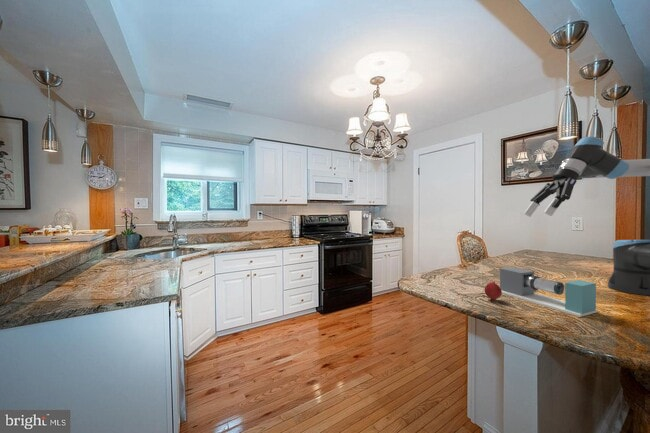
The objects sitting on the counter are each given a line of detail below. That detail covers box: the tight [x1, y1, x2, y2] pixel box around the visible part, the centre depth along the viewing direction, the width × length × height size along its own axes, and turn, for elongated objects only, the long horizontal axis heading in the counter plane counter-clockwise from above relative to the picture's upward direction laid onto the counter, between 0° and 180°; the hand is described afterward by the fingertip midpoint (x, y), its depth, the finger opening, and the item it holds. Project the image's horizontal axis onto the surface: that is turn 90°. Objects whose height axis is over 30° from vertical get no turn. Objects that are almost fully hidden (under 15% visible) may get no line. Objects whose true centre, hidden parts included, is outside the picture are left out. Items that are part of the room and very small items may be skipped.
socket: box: [564, 279, 597, 314], centre depth 87 cm, size 9×4×10 cm, turn 110°
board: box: [501, 290, 599, 318], centre depth 98 cm, size 11×28×1 cm, turn 20°
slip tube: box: [524, 275, 565, 296], centre depth 101 cm, size 19×6×6 cm, turn 20°
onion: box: [484, 280, 502, 301], centre depth 100 cm, size 6×6×8 cm
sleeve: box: [499, 266, 535, 296], centre depth 107 cm, size 8×9×10 cm
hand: (536, 214), depth 102 cm, fingers open, 13 cm apart
